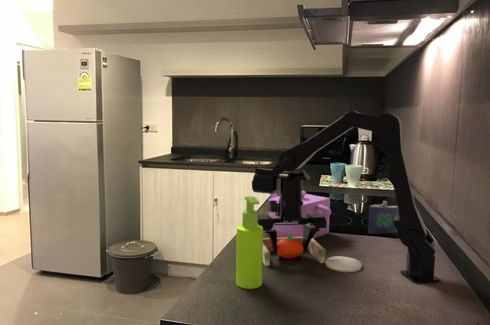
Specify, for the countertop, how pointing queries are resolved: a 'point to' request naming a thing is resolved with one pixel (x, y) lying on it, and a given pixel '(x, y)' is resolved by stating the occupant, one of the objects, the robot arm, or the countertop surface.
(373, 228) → the flask
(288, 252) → the pumpkin
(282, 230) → the teapot
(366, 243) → the countertop surface
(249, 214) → the soap dispenser
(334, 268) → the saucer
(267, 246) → the wooden frame
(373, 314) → the countertop surface
